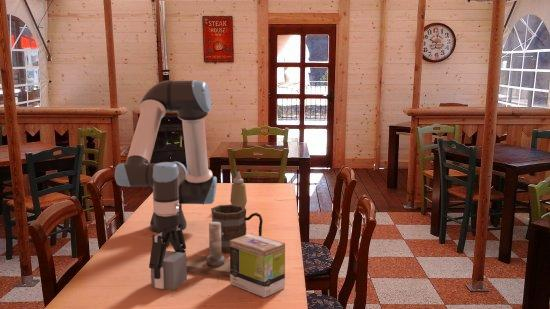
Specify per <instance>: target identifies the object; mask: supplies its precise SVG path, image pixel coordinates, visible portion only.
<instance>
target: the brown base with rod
mask: <svg viewBox="0 0 550 309" xmlns="http://www.w3.org/2000/svg"><path fill="white" fill-rule="evenodd" d="M208 242H209V244H208V245H209V246H208V248H209V249H208V250H209V255H203V254H195V255H193V256H192V257H191V258H189V259H188V260H186V266H187V271H188V272H187V273H189V272H190V273H194V272H195V273H196V274H201V273H202V274H203V275H208V274H209V276H216V277H222V278H228V279H230V258H225V256H224V255H222V253H221V223H220V222H212V221H211V222H208ZM195 273H194V274H195Z"/></svg>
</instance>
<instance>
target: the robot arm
mask: <svg viewBox="0 0 550 309" xmlns="http://www.w3.org/2000/svg"><path fill="white" fill-rule="evenodd" d="M209 87H210V86H208V84H207V83H206V82H205V81H203V80H195V79H193V80H163V81H160V82H157V83H156V84H154V85H153V86H152V87H150V88H149V89H148V90H147V91H146V92H145V94H144V95H143V96H142V98H141V100H140V104H139V108H138V110H139V112H140V114H139V117H138V121H137V124H136V127H135V130H134V134H133V137H132V140H131V143H130V144H131V145H130V148H129V151H128V154H127V157H126V161H125V162H122V163H118V164H117V165H116V166H115V170H114V179H115V180H114V181H115V182H116V185H118V186H120V187H129V188H131V187H132V188H133V187H149V188H150V187H151V188H152V199H153V200H152V201H153V212H152V216H151V220H150V224H149V228H150V230H151V231H152V232H155V233H157V234H153V235H152V240H151V241H152V244H151V250H150V257H149V258H150V259H149V264H148V267H149V269H151V268H152V269H154V278H155V287H154V288H155V289H163V288H164V275H163V267H162V263H163V259H164V256H165V252H166V251H167V248H168V247H169V245H170V244H171V246H172V248H173V250H174V252H181V253H186V252H187V251H186V249H187V245H186V241H185V237H184V231H183V230H185V229H186V228H187V219H186V216H185V214H184V211H183V207H182V206H183V205H203V206H204V205H212V204H213V203H214V202H215V198H216V193H217V185H218V178H217V176H214V175H213V171H212V170H211V169H209V162H208V161H209V160H208V151H207V150H208V149H207V136H206V124H205V118H207V117H208V115H209V112H211V111H212V96H211V90H210V88H209ZM168 112H174V113H175V112H176V114H177V118H178V119H179V120H181V123H182V133H183V142H184V149H185V150H184V151H185V159H186V160H185V161H186V166H185V165H184V164H183V163H181V162H180V161H170V162H169V161H165V162H164V161H163V162H157V163H151V160H152V155H153V152H154V148H155V143H156V139H157V135H158V132H159V128H160V125H161V121H162V119H163V118H164V117H165V116H166V113H168ZM163 290H164V289H163Z"/></svg>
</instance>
